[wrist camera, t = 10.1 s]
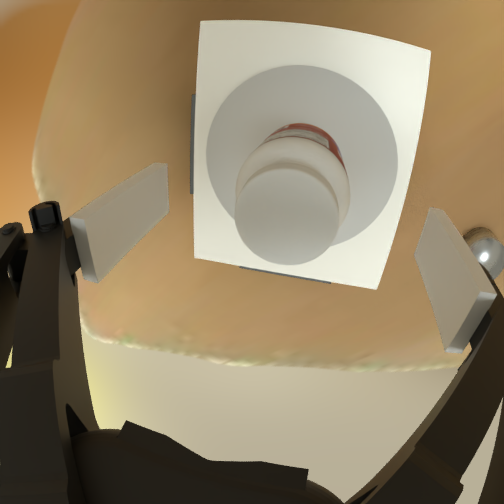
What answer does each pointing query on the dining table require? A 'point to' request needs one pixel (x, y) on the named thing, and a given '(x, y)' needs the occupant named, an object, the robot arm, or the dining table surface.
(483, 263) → the shiny grey dome
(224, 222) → the scale
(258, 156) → the pill bottle
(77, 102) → the dining table surface
